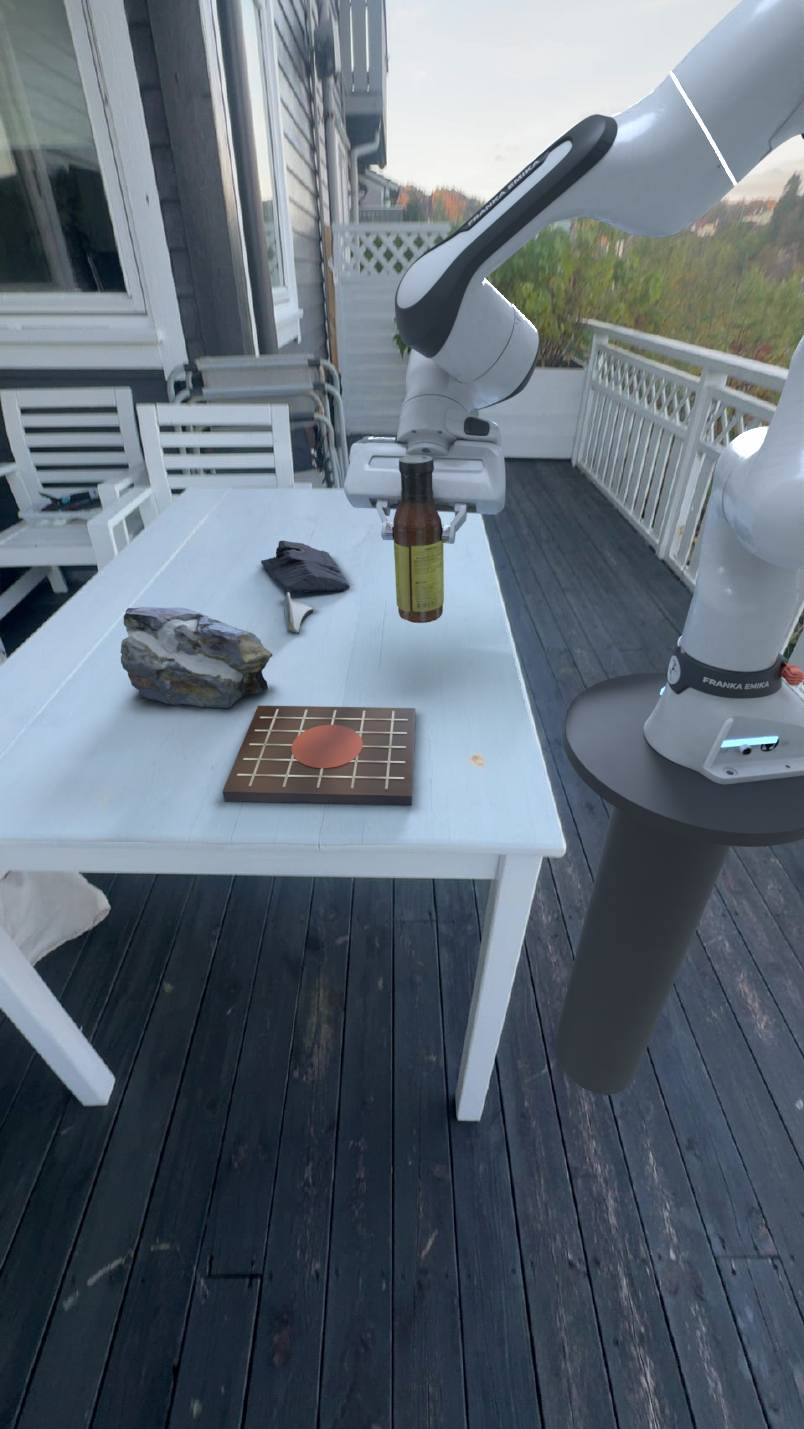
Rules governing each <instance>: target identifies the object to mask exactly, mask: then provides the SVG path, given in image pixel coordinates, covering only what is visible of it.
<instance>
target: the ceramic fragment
mask: <svg viewBox="0 0 804 1429" xmlns="http://www.w3.org/2000/svg"><path fill="white" fill-rule="evenodd" d="M283 608H284V616H285V621H286V627H287V629H288V630H289V631H291V632H293V633H295V634H299V633H300V629H301V624H302V621H303V620H304V619H305V617H306V616H307V615H309V614H311V613H313V612H314V608H313V607H311V606H309V605H308V604H305V603H302V602H301V601H300V602H299V601H296V600H293V599H292V598H291V592H289V591H287V592H286V594H285V596H284V599H283Z"/></svg>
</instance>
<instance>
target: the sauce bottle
mask: <svg viewBox="0 0 804 1429" xmlns="http://www.w3.org/2000/svg"><path fill="white" fill-rule="evenodd" d="M433 470H434V463H433V458H432V457H430V456H425V455H411V456H405V457H402V458H400V459H399V471H400V473H401V488H402V491H401V502H400V504H399V506H398V508H397V510H395V513H394V516H393V521H392V522H393V525H394V540H393V556H394V577H395V596H396V597H395V598H396V606H397V609H398V615H399V617H400V619H401V620H404V621H408V622H410V623H414V624H427V623H431V622H434V621H437V620H438V619H440V618H441V616H442V615H443V613H444V603H445V579H444V577H445V575H444V574H445V573H444V572H445V571H444V570H445V569H444V568H445V566H444V565H445V561H444V560H445V559H444V555H445V554H444V553H445V552H444V551H445V550H444V543H442V532H443V530H442V529H443V523H442V518H441V516H440V514H439V512H437V509H436V506H435V502H434V499H433V490H432V472H433Z"/></svg>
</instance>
